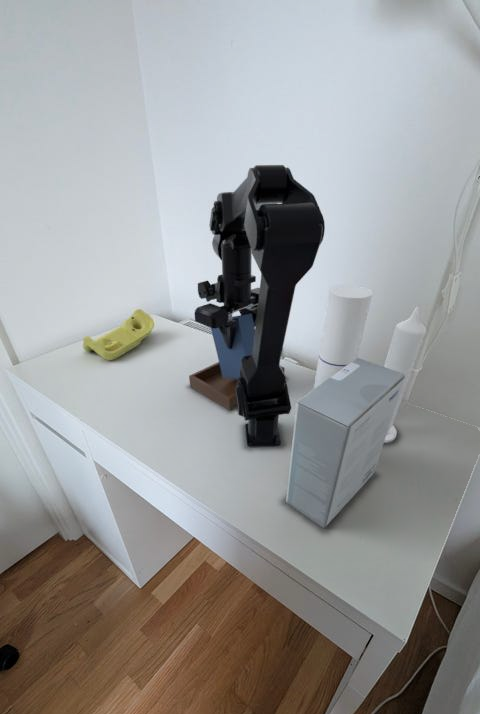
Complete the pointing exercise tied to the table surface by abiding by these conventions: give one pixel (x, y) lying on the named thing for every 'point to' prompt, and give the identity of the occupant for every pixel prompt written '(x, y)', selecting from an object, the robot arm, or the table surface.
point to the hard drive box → (340, 437)
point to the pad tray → (216, 386)
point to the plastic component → (121, 337)
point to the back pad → (235, 346)
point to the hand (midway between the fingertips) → (237, 344)
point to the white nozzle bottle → (404, 356)
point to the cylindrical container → (342, 329)
